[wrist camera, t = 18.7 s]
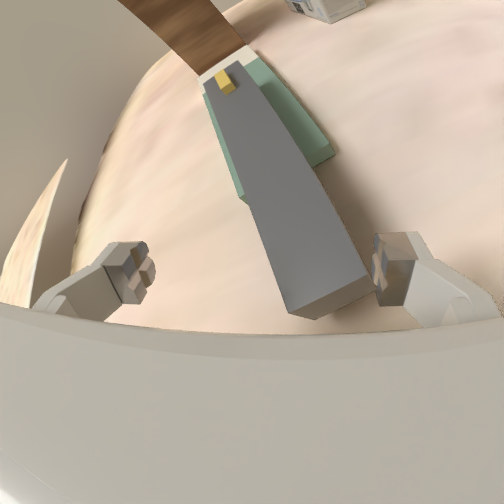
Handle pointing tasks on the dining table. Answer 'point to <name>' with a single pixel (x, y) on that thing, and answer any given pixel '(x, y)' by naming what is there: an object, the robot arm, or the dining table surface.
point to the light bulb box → (326, 8)
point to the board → (284, 105)
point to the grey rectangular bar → (287, 201)
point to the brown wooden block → (189, 29)
